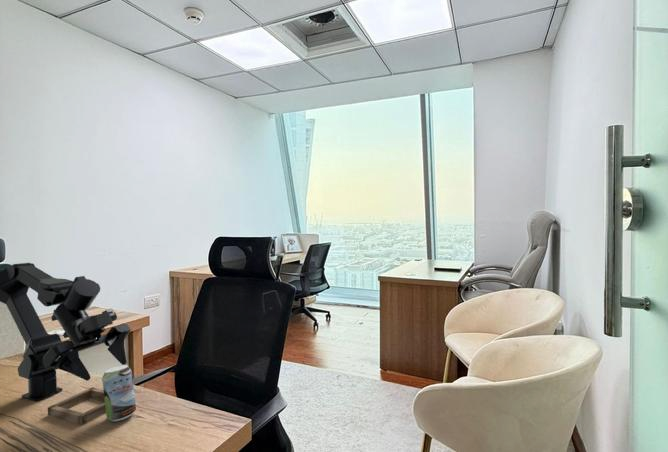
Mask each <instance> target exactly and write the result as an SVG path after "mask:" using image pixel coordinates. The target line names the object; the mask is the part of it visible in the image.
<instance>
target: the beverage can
mask: <svg viewBox="0 0 668 452" xmlns="http://www.w3.org/2000/svg"><path fill="white" fill-rule="evenodd" d="M103 373H104V374H103V375H102V378H101V380H102V390H103V391H104V399H105V401H104V402H105V408H106V413H105V415H106V420H108V421H111V422H120V421H122V420H126V419H127V418H129V417H131V416H132V415H133V413H135V412H136V410H137V405H136V397H135V389H134V388H135V387H134V379H133V370H132V369H131V368H130V367H129V365H128V364H125V365H122V364H120V365H116V366H113V367H110V368H107V369H105V370H104V371H103Z"/></svg>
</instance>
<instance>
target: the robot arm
mask: <svg viewBox="0 0 668 452" xmlns="http://www.w3.org/2000/svg"><path fill="white" fill-rule="evenodd" d="M29 289H31V290H33V291H35V292H36V293H37V298H36V299H37V301H39V302H40V304H42V305H43V306H44V307H52V306H57V307H56V308H55V309H54V310H53V313H52V316H51V321H52V322H54V321H55V322H56V321H58V323H59V324H60V326H61V327H62V329H63V331H64V332H63V334H62V337H63V338H64V339H66V338H69V340H66V341H63V340H62V338H61V337H60V335H59V334H58V333H56V332H55V333H52V334H49V333H48V331H47V330H46V328H45V325H44V324H43V322H42V320H41V318H40V316H39V315H38V313H37V311H36V309H35V307H34V305H33V303H32V301H31V300H30V298H29V296H28V291H29ZM100 291H101V286H100V284H99V283H97V282H96V281H94V280H91V279H89V278H86V276H85V275H80V276H76V277H75V278H74V279H73V280H71V279H67V278H57V277H54V276H52V275H50V274H48V273H46V272H45V271H43V270H42V269H40V268H38V267H37V266H35V264H34V263H31V262H22V263H21V262H20V263H12V264H11V265H8V266H7V268H5V269H3V270H1V271H0V303H3V304H5V305H6V307H7V309H8V311H9V313H10V315H11V317H12V320H13V321H14V323H15V325H16V327H17V329H18V331H19V333H20V335H21V337H22V339H23V342H25V348H24V352H23V354H22V358H23V359H22V361H21V362H20V363H19V365H18V367H17V373H18V377H21V378H24V379H26V380H27V391H28V392H27V393H25V394H22V395H21V398H22V399H26V400H30V401H34V402H39V401H40V400H43V399H45V398H48V397H51V396H53V395H56V394H57V393H59V392H62V391H63V388H62V387H58V385H57V384H58V382H57V379H58V378H57V370H61V371H64V372H66V373H69V374H71V375H73V376H76V377H78V378H80V379H82V380H85V381H86V382H87V381H90V379H91V375H90V373H89V371H88V368H86V366H85V364H84V362H83V361H82V360H81V358H80V356H79V355H80V354H79V352H81V351H84V350H87V349H90V348H92V347H95V346H99V345H102V344H104V345H105V347H108V348H107V351H109V352H110V354H111V355H112V356H113V357H114V358H115V360H117V361H118V363H120V365H127V356H126V350H125V339H126V338H128V336H129V334H130V332H131V331H132V329H131V328H130V326H129V325H128V324H127V323H121V324H118V325H115V326H112V327H111V328H110V329H109V330H108V332H107V333H106V334H103V335H102V333H104V332H105V331H106V328H105V327H108V326H109V325H110V326H111V325H113V324H114V321H116V320H117V319H118V315H117V313H116V311H115V310H114V309H113V308H108V309H105V310H104V311H102V312H101V313H99V314H98V313H97V314H95V315H89V314H88V313H87V311H86V310H87V309H89V308H90V307H91V305H92V304H93V302H94V301H95V300H96V297H98V295H99V293H100Z"/></svg>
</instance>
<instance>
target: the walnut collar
mask: <svg viewBox="0 0 668 452" xmlns="http://www.w3.org/2000/svg"><path fill="white" fill-rule="evenodd" d="M89 399H95V400H100V401H103V403H100V404H99V405H96V406H95V407H93V408H91V409H89V410H87V411H85V412H81V411H76V410H74V409H73V410H72V409H70V408H72V407H75V406H77V405H78V404H81V403H83V402H85V401H87V400H89ZM104 414H106V408H105V399H104V391H103V388H97V387H94V386H93V387H91V388H88V389H85V390H83V391H81V392H79V393H76V394H75V395H72V396H70V397H67V398H66V399H63V400H62V401H59V402H57V403H55V404H53V405H50V406H48V407H47V416H48V417H50V418H54V419H58V420H62V421H66V422H68V423H72V424H75V425H79V426H83V425H85V424H87V423H89V422H91V421H93V420H94V419H97V418H99V417H100V416H102V415H104Z"/></svg>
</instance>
